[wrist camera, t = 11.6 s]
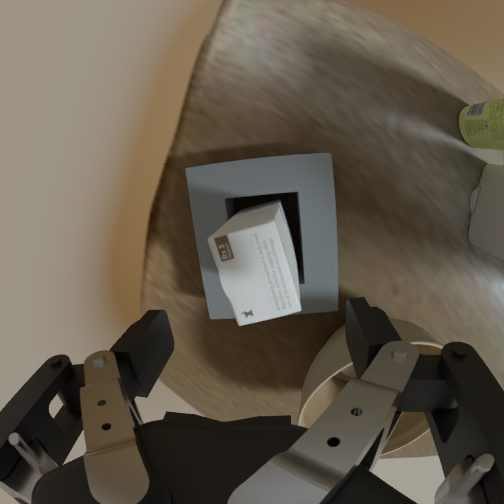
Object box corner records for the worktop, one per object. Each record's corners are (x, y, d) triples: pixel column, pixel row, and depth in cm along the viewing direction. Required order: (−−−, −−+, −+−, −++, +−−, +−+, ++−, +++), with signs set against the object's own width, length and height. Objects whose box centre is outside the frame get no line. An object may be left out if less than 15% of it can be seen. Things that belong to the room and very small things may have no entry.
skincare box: (297, 254, 28) (309, 315, 17) (254, 266, 29) (238, 331, 18) (280, 194, 27) (281, 216, 15) (235, 208, 28) (204, 239, 16)
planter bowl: (442, 331, 30) (482, 383, 19) (356, 410, 34) (369, 470, 24) (362, 258, 28) (402, 307, 18) (266, 360, 32) (260, 431, 22)
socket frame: (323, 154, 25) (331, 152, 22) (331, 292, 29) (338, 310, 25) (198, 167, 27) (185, 168, 23) (218, 300, 31) (210, 319, 27)
